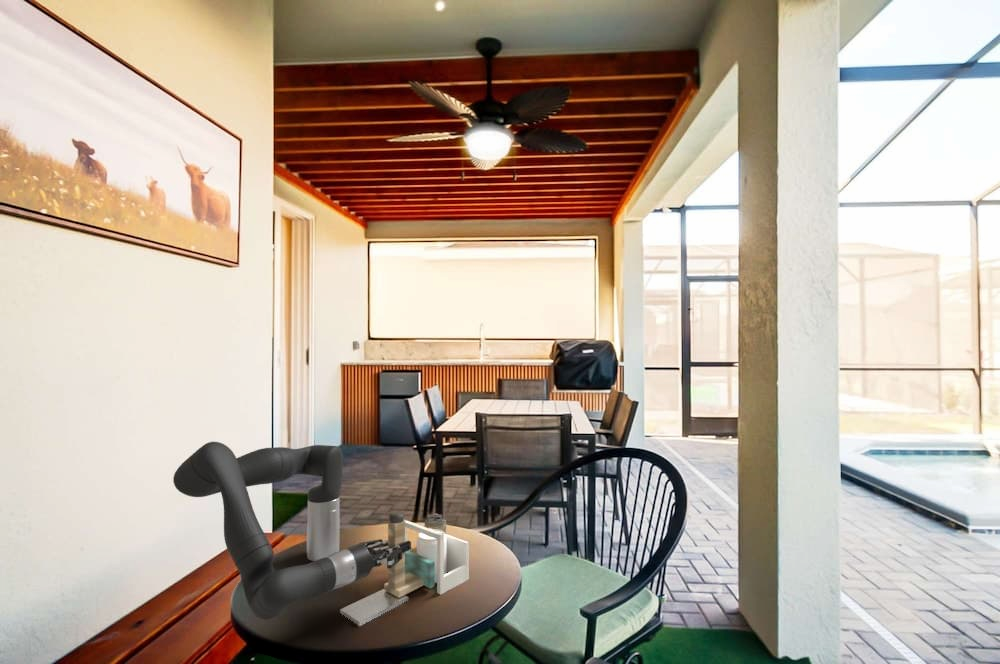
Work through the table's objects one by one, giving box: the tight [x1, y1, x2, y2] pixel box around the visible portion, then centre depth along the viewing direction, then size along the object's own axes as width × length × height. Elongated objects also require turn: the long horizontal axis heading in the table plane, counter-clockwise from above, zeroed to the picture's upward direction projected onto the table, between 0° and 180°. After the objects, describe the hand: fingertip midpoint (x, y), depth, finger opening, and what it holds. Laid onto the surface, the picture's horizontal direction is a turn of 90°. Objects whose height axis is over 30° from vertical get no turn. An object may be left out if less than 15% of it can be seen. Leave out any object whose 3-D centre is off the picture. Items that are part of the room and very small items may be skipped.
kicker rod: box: [383, 511, 435, 598], centre depth 121 cm, size 11×10×19 cm
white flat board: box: [339, 588, 409, 627], centre depth 113 cm, size 8×14×1 cm, turn 140°
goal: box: [404, 519, 470, 596], centre depth 128 cm, size 16×10×15 cm, turn 50°
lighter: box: [423, 513, 447, 534], centre depth 148 cm, size 7×4×10 cm, turn 91°
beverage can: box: [416, 529, 447, 584], centre depth 128 cm, size 8×8×12 cm
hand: (405, 542), depth 121 cm, fingers closed on kicker rod, 3 cm apart
